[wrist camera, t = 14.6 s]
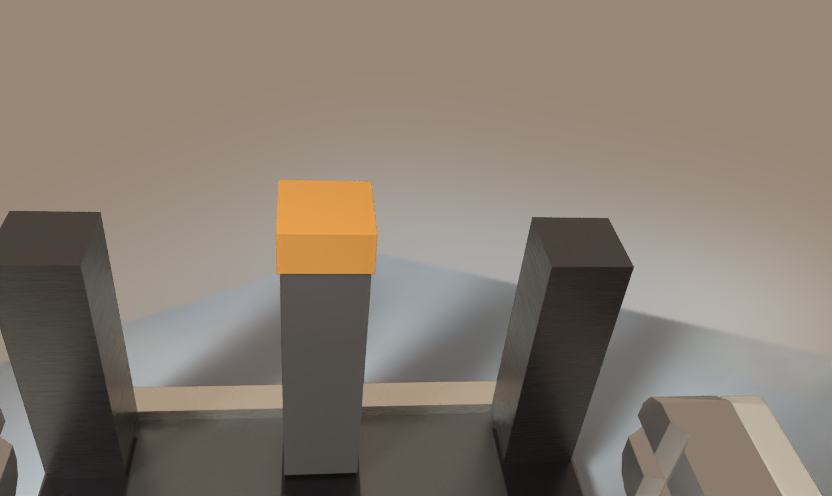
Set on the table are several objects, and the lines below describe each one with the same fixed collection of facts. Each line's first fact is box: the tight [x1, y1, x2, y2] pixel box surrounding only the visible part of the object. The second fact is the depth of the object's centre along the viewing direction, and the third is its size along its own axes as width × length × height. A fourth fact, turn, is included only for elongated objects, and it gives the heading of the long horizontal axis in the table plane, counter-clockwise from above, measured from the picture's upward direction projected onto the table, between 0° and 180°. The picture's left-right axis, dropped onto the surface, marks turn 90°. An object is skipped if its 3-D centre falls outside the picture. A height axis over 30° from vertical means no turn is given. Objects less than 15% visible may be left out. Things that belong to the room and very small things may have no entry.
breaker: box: [276, 180, 377, 475], centre depth 30 cm, size 3×3×12 cm
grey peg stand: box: [0, 211, 634, 496], centre depth 27 cm, size 22×16×12 cm
